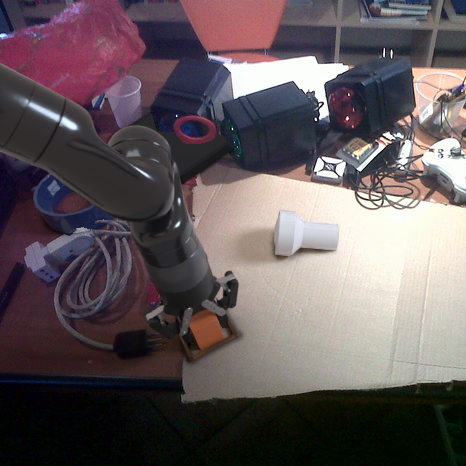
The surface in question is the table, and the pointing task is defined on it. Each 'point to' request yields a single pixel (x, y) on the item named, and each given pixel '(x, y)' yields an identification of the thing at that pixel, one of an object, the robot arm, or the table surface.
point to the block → (206, 328)
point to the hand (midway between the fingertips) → (206, 331)
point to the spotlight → (302, 234)
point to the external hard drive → (189, 150)
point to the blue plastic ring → (49, 199)
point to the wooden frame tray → (212, 347)
